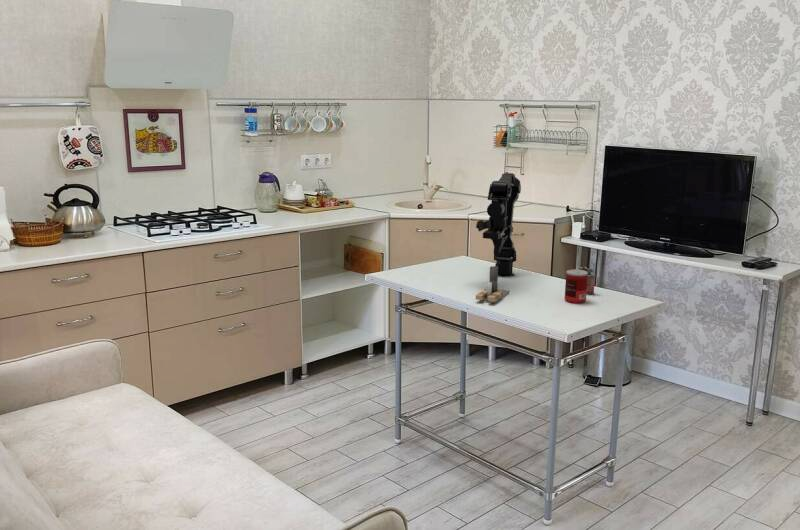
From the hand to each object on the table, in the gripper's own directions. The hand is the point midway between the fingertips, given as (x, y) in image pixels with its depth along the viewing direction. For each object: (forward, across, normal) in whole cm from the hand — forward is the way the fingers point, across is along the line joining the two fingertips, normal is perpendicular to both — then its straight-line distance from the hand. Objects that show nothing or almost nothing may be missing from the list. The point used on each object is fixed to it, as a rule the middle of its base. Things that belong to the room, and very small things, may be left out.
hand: (497, 253), depth 278 cm
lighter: (+13, -6, +34) cm, 37 cm away
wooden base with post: (+12, +22, +6) cm, 26 cm away
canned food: (+13, +7, +33) cm, 36 cm away
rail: (+13, +17, +6) cm, 22 cm away
